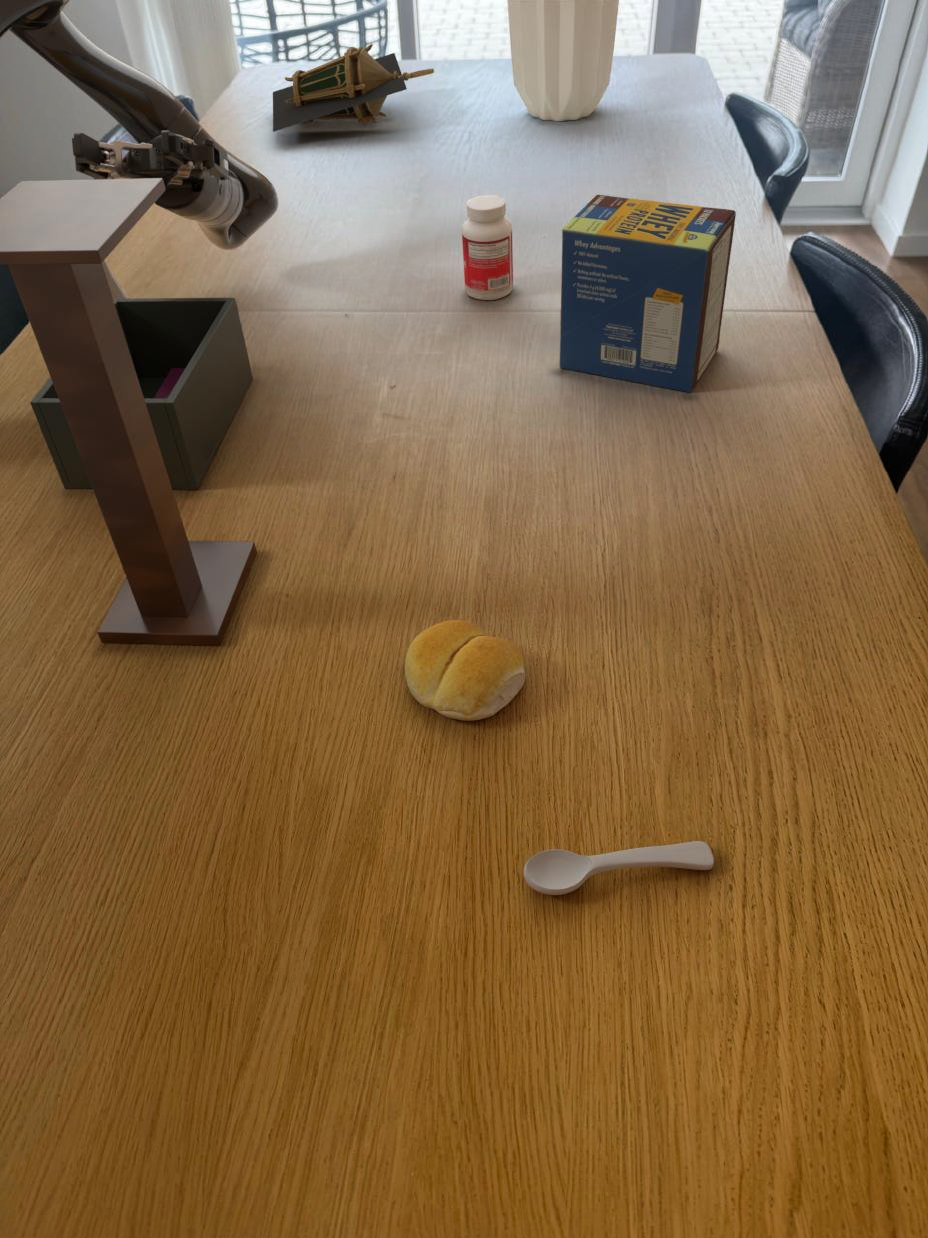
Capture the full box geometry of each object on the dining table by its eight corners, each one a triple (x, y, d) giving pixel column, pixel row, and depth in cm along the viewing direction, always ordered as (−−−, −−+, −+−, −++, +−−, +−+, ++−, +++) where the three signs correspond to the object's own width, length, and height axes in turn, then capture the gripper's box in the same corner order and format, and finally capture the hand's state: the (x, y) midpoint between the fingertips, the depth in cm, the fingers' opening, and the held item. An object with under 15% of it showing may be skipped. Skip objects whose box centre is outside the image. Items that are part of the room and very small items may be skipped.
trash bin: (64, 488, 95) (29, 402, 88) (137, 378, 111) (112, 298, 104) (198, 490, 94) (172, 402, 87) (253, 378, 109) (235, 297, 103)
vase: (501, 101, 183) (498, -76, 164) (602, 92, 184) (610, -85, 165) (516, 132, 169) (514, -57, 150) (626, 123, 170) (638, -67, 151)
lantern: (289, 129, 190) (432, 70, 186) (294, 181, 174) (450, 118, 171) (257, 58, 180) (408, -6, 176) (260, 107, 164) (424, 38, 161)
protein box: (590, 328, 114) (595, 192, 104) (719, 350, 109) (738, 209, 98) (556, 368, 107) (558, 228, 97) (692, 394, 102) (710, 248, 91)
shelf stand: (101, 642, 78) (-66, 252, 57) (149, 549, 87) (20, 180, 65) (220, 646, 77) (97, 250, 56) (257, 551, 86) (163, 177, 64)
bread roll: (451, 627, 78) (448, 589, 75) (541, 675, 73) (541, 637, 71) (381, 687, 73) (375, 649, 70) (472, 742, 69) (469, 704, 66)
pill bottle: (478, 277, 126) (474, 189, 118) (521, 284, 124) (520, 195, 116) (456, 297, 122) (451, 207, 114) (500, 304, 120) (498, 214, 112)
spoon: (518, 863, 61) (520, 845, 60) (700, 845, 62) (706, 827, 61) (526, 905, 59) (529, 887, 58) (714, 885, 60) (721, 867, 59)
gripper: (122, 144, 106) (45, 101, 90) (248, 141, 105) (192, 96, 89) (127, 217, 108) (52, 187, 92) (251, 215, 106) (197, 184, 91)
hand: (121, 143), depth 90 cm, fingers open, 8 cm apart
